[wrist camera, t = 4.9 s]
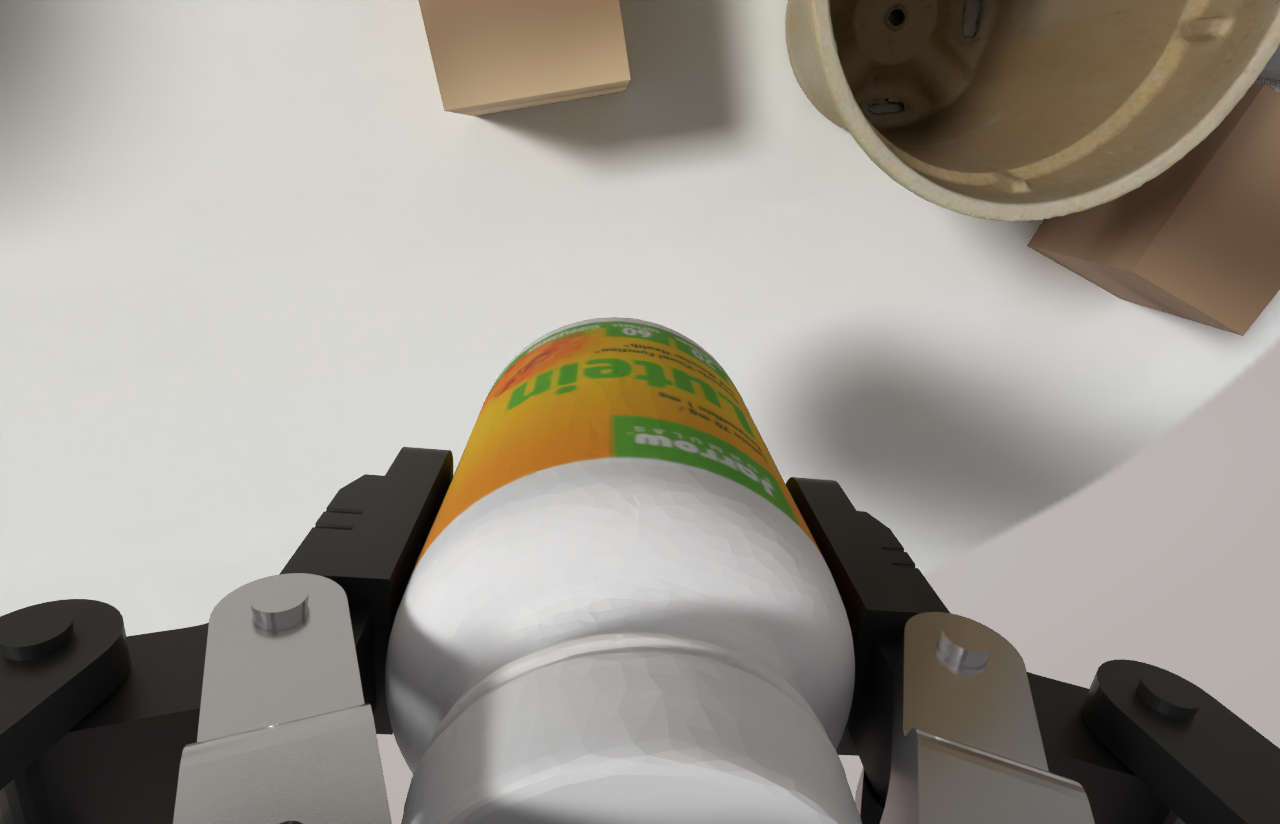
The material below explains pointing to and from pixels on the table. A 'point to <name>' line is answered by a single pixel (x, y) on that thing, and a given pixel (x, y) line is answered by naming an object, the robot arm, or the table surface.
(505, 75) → the oak cube
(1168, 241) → the walnut block
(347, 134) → the table surface
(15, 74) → the table surface
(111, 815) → the robot arm
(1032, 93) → the flower pot
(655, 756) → the supplement bottle
